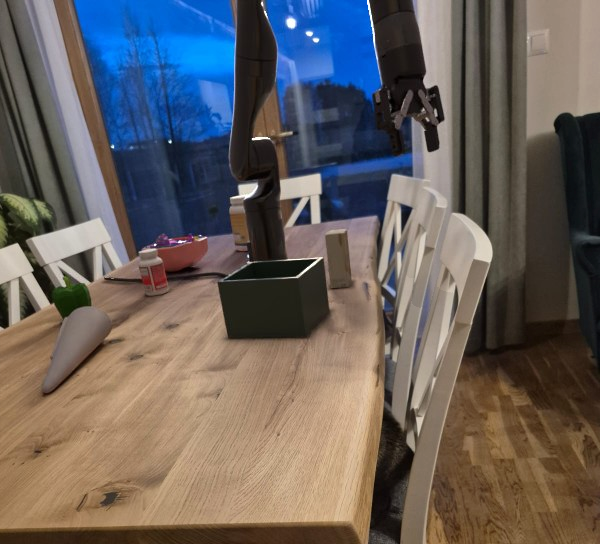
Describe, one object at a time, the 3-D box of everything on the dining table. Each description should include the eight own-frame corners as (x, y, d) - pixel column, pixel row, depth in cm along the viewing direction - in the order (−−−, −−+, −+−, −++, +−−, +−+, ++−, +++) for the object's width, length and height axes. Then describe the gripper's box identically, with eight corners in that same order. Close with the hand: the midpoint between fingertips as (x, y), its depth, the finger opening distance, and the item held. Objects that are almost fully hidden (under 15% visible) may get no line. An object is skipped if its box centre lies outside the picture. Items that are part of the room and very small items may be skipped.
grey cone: (86, 362, 92) (106, 303, 114) (30, 370, 91) (61, 309, 113) (99, 403, 96) (116, 338, 118) (46, 412, 95) (73, 345, 117)
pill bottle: (171, 288, 154) (161, 246, 150) (167, 294, 149) (157, 251, 144) (148, 291, 155) (138, 250, 150) (143, 297, 149) (132, 254, 144)
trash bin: (227, 338, 109) (217, 281, 104) (258, 312, 122) (250, 261, 118) (305, 337, 104) (298, 277, 99) (329, 310, 117) (323, 257, 112)
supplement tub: (257, 252, 188) (248, 197, 181) (228, 252, 194) (219, 199, 187) (278, 243, 197) (271, 191, 190) (250, 244, 203) (242, 193, 196)
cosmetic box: (349, 287, 131) (343, 232, 126) (330, 289, 132) (324, 234, 127) (352, 280, 137) (347, 227, 132) (334, 282, 138) (328, 229, 133)
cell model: (222, 265, 175) (215, 226, 171) (160, 280, 166) (151, 240, 161) (198, 259, 188) (191, 224, 184) (140, 273, 179) (131, 236, 174)
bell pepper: (93, 321, 134) (81, 278, 129) (57, 327, 133) (43, 284, 129) (99, 311, 141) (87, 271, 137) (64, 317, 140) (52, 276, 136)
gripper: (412, 61, 103) (428, 156, 106) (352, 61, 95) (372, 163, 99) (444, 41, 97) (461, 143, 100) (383, 40, 89) (403, 150, 92)
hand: (417, 153), depth 99 cm, fingers open, 8 cm apart
